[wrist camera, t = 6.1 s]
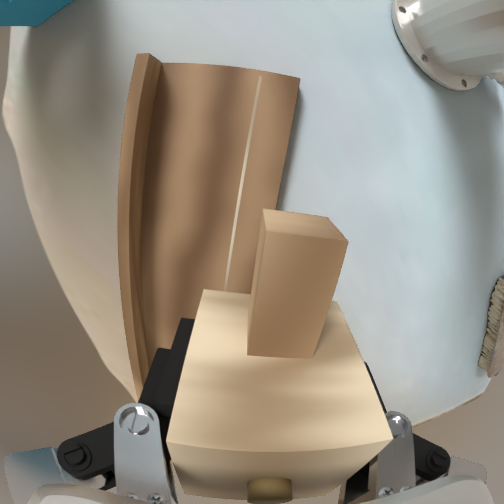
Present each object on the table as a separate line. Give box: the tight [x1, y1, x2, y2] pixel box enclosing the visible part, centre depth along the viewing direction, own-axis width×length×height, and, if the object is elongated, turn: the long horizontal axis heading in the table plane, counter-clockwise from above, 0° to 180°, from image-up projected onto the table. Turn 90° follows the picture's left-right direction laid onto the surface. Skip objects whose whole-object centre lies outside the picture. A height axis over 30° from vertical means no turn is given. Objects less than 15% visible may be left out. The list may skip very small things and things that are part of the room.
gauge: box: [166, 209, 393, 504], centre depth 8 cm, size 5×12×7 cm, turn 173°
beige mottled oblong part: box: [478, 277, 504, 378], centre depth 29 cm, size 24×8×5 cm, turn 27°
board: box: [118, 53, 300, 401], centre depth 24 cm, size 12×39×4 cm, turn 170°
